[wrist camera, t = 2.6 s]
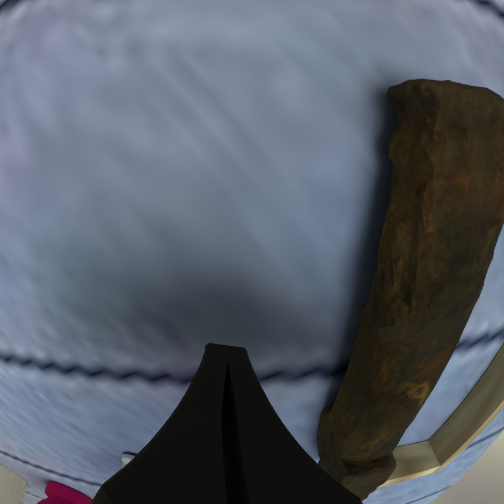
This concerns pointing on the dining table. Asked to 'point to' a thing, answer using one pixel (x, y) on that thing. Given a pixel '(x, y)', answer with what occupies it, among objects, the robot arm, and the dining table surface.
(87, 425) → the dining table surface
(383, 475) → the hand tool
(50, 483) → the pepper mill
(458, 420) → the beige bent bracket
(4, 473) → the cream cylinder
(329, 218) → the dining table surface
